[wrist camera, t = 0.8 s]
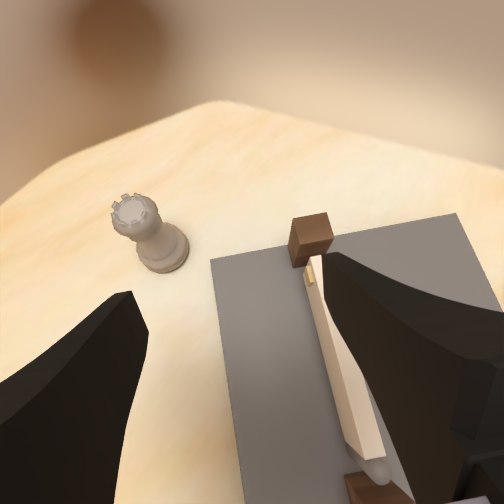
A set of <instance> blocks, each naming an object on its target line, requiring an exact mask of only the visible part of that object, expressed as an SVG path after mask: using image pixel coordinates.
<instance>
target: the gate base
mask: <svg viewBox="0 0 504 504" xmlns="http://www.w3.org/2000/svg"><path fill="white" fill-rule="evenodd" d="M332 252H340V253H342V254H344V255H346V256H348V257H350V258H351V259H353V260H355V261H357V262H359V263H361V264H363V265H365V266H367V267H369V268H371V269H372V270H374V271H377V272H379V273H381V274H383V275H385V276H387V277H389V278H391V279H394V280H396V281H398V282H401V283H403V284H405V285H408V286H411V287H413V288H416V289H419V290H422V291H424V292H427V293H430V294H433V295H436V296H439V297H443V298H446V299H449V300H453V301H457V302H461V303H464V304H468V305H472V306H476V307H481V308H485V309H489V310H494V311H499V312H503V311H502V309H501V307H500V304H499V302H498V300H497V298H496V296H495V294H494V292H493V290H492V288H491V286H490V284H489V281H488V279H487V277H486V275H485V273H484V271H483V269H482V267H481V265H480V263H479V260H478V258H477V256H476V254H475V252H474V250H473V248H472V246H471V244H470V242H469V240H468V237H467V235H466V233H465V231H464V229H463V227H462V225H461V223H460V221H459V219H458V216H457V214H456V213H453V214H448V215H443V216H437V217H432V218H427V219H422V220H416V221H411V222H406V223H400V224H395V225H390V226H385V227H379V228H374V229H369V230H363V231H358V232H353V233H348V234H342V235H337V236H334V240H333V242H332V243H331V245H330V247H329V249H328V251H327V253H332ZM327 253H326V254H327ZM210 263H211V270H212V276H213V283H214V290H215V297H216V304H217V311H218V318H219V325H220V332H221V339H222V346H223V353H224V359H225V366H226V373H227V380H228V387H229V394H230V401H231V408H232V415H233V422H234V429H235V436H236V442H237V449H238V456H239V463H240V470H241V477H242V484H243V491H244V498H245V504H350V500H349V496H348V492H347V488H346V484H345V480H344V476H343V475H344V474H349V473H354V472H359V471H363V469H362V468H361V467H360V466H359V465H358V464H357V463H356V462H355V461H354V459H353V458H352V457H351V456H350V455H349V454H348V452H347V448H346V447H347V442H346V441H345V439H344V435H343V431H342V427H341V424H340V420H339V416H338V412H337V408H336V404H335V400H334V396H333V392H332V388H331V384H330V380H329V376H328V373H327V369H326V365H325V361H324V357H323V353H322V349H321V345H320V341H319V337H318V333H317V329H316V325H315V321H314V318H313V314H312V310H311V306H310V302H309V298H308V294H307V290H306V286H305V282H304V278H303V273H304V270H305V268H306V266H304V267H299V268H294V269H293V267H292V263H291V259H290V255H289V251H288V245H284V246H279V247H274V248H268V249H263V250H258V251H252V252H247V253H242V254H237V255H231V256H226V257H221V258H215V259H210ZM363 377H364V376H363ZM364 381H365V384H366V388H367V391H368V395H369V398H370V401H371V405H372V408H373V412H374V415H375V418H376V422H377V425H378V429H379V432H380V436H381V439H382V442H383V446H384V449H385V453H386V456H383V457H381V458H382V459H384V460H385V461H386V462H387V463H388V464H389V466H390V468H391V471H392V477H391V480H392V481H393V482H394V483H395V484H396V485H397V486H398V487H400V488H401V489H402V490H403V491H404V492H405V493H406V494H407V495H408V496H409V497H410V498H411V499H413V500H414V497H413V494H412V492H411V489H410V486H409V484H408V481H407V478H406V476H405V473H404V471H403V468H402V466H401V463H400V461H399V458H398V456H397V453H396V450H395V448H394V445H393V443H392V440H391V438H390V435H389V433H388V431H387V428H386V426H385V424H384V421H383V419H382V416H381V414H380V412H379V409H378V407H377V405H376V402H375V400H374V398H373V395H372V393H371V391H370V389H369V386H368V384H367V382H366V380H365V378H364ZM414 501H415V500H414Z"/></svg>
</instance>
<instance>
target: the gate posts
mask: <svg viewBox="0 0 504 504" xmlns="http://www.w3.org/2000/svg"><path fill="white" fill-rule="evenodd" d="M333 240H334V235H333V232H332V228H331V225H330V222H329V219H328V215H327V212H325V213H320V214H314V215H309V216H304V217H298V218H293V221H292V226H291V232H290V237H289V242H288V251H289V255H290V259H291V263H292V267H293V269H294V268H299V267H304V266H307V263H308V261H309V259H310V257H312V256H317V255H321V254H326V253H327V251H328V249H329V247H330V245H331V243H332V242H333ZM343 476H344V480H345V484H346V488H347V492H348V496H349V500H350V504H416V502H415V501H414V500H413V499H411V498H410V497H409V496H408V495H407V494H406V493H405V492H404V491H403V490H402V489H401V488H400V487H398V486H397V485H396V484H395V483H394V482H393V481H392V480H390V482H389V483H388V484H386V485H378V484H376V483H375V482H374V481H373V480H372V479H371V478H370V477H369V476H368V475H367V474H366V473H365V471H364V470H363V471H359V472H354V473H349V474H344V475H343Z"/></svg>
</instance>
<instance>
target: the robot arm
mask: <svg viewBox="0 0 504 504" xmlns="http://www.w3.org/2000/svg"><path fill="white" fill-rule="evenodd" d="M321 258H322V275H323V291H324V300H325V303H326V305H327V308H328V310H329V313H330V315H331V318H332V320H333V322H334V324H335V326H336V327H337V329H338V331H339V333H340V335H341V336H342V338H343V340H344V342H345V343H346V345H347V347H348V349H349V350H350V352H351V354H352V356H353V358H354V359H355V361H356V363H357V365H358V366H359V368H360V370H361V372H362V374H363V376H364V378H365V380H366V382H367V384H368V386H369V389H370V391H371V393H372V395H373V398H374V400H375V402H376V405H377V407H378V409H379V412H380V414H381V416H382V419H383V421H384V424H385V426H386V428H387V431H388V433H389V435H390V438H391V440H392V443H393V445H394V448H395V450H396V453H397V456H398V458H399V461H400V463H401V466H402V468H403V471H404V473H405V476H406V478H407V481H408V484H409V486H410V489H411V492H412V494H413V497H414V500H415V502H416V504H504V312H499V311H494V310H489V309H485V308H481V307H476V306H472V305H468V304H464V303H461V302H457V301H453V300H449V299H446V298H443V297H439V296H436V295H433V294H430V293H427V292H424V291H422V290H419V289H416V288H413V287H411V286H408V285H405V284H403V283H401V282H398V281H396V280H394V279H391V278H389V277H387V276H385V275H383V274H381V273H379V272H377V271H374V270H372V269H371V268H369V267H367V266H365V265H363V264H361V263H359V262H357V261H355V260H353V259H351V258H350V257H348V256H346V255H344V254H342V253H340V252H332V253H327V254H321ZM148 335H149V331H148V329H147V326H146V324H145V322H144V319H143V317H142V315H141V312H140V310H139V307H138V305H137V303H136V300H135V298H134V296H133V293H132V291H126V292H121V293H116V294H114V295H112V296H111V297H110V298H108V299H107V300H106V301H105V302H103V303H102V304H101V305H100V306H99V307H98V308H96V309H95V310H94V311H93V312H92V313H91V314H90V315H88V316H87V317H86V318H85V319H84V320H83V321H81V322H80V323H79V324H78V325H77V326H76V327H75V328H73V329H72V330H71V331H70V332H69V333H67V334H66V335H65V336H64V337H62V338H61V339H60V340H59V341H57V342H56V343H55V344H54V345H53V346H51V347H50V348H49V349H48V350H46V351H45V352H44V353H42V354H41V355H40V356H38V357H37V358H36V359H34V360H33V361H32V362H30V363H29V364H27V365H26V366H25V367H23V368H22V369H20V370H19V371H17V372H16V373H15V374H13V375H12V376H10V377H9V378H7V379H5V380H4V381H2V382H1V383H0V504H114V497H115V490H116V483H117V477H118V470H119V464H120V457H121V452H122V446H123V441H124V435H125V429H126V425H127V421H128V417H129V413H130V409H131V406H132V403H133V399H134V396H135V392H136V389H137V385H138V382H139V379H140V375H141V371H142V368H143V364H144V361H145V357H146V351H147V344H148Z"/></svg>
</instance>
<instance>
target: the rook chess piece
mask: <svg viewBox="0 0 504 504" xmlns="http://www.w3.org/2000/svg"><path fill="white" fill-rule="evenodd" d="M121 198H122V199H123V200H122V201H121V202H120V203H118V202H116V201H114V203H113V205H112V208H113V209H114V212H113V213H111V216H112V223H113V226H114V229H115V230H116V231H117V232H118V233H119V234H120V235H123V236H126V237H128V238H130V239H131V240H132V241H135V242H137V247H136V251H137V253H138V256H139V259H140V261H142V262H143V264H144V265H145V266H146V267H147V268H148V269H149V270H152V271H155V272H157V273H162V272H169V271H172V270H174V269H176V268H178V267H179V266H180V265H181V264H182V263H183V262H184V261H185V259H186V256H187V254H188V249H189V243H188V240H187V238H186V236H185V235H184V234H183V233H182V231H181V230H180V229H178V228H177V227H176V226H175V225H172V224H169V223H163V222H162V220H161V217H160V215H159V214H158V209H157V206H156V204H155V202H154V201H152V200H151V199H150V198H148V197H145V196H142V195H140V194H137V193H134V196H131V197H130V196H129V195H128V194H124V195H122V196H121Z"/></svg>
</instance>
